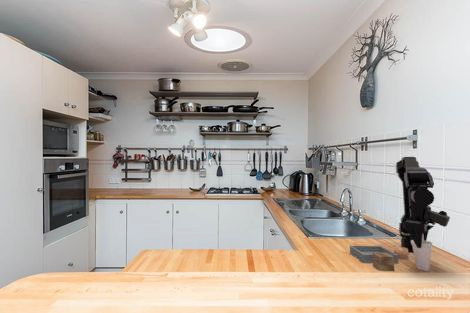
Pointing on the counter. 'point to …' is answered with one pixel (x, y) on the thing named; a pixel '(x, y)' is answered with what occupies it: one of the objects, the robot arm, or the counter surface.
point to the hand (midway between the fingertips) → (421, 246)
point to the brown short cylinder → (401, 252)
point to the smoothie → (422, 255)
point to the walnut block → (383, 261)
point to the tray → (370, 253)
